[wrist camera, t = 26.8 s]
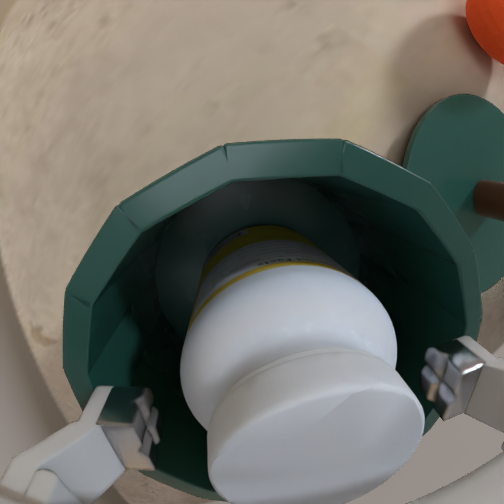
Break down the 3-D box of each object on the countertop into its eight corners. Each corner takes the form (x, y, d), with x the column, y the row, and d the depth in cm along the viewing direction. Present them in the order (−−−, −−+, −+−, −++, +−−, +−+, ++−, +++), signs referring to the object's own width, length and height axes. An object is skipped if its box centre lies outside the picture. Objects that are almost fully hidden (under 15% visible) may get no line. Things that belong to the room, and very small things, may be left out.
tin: (366, 156, 15) (497, 151, 6) (360, 357, 19) (429, 460, 9) (129, 174, 15) (15, 182, 5) (167, 379, 18) (141, 504, 9)
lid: (517, 114, 15) (558, 111, 10) (513, 277, 18) (551, 295, 14) (385, 81, 14) (430, 59, 10) (389, 305, 18) (428, 341, 13)
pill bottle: (276, 353, 17) (327, 534, 6) (178, 299, 16) (118, 491, 5) (345, 262, 16) (495, 394, 5) (245, 194, 15) (300, 260, 4)
